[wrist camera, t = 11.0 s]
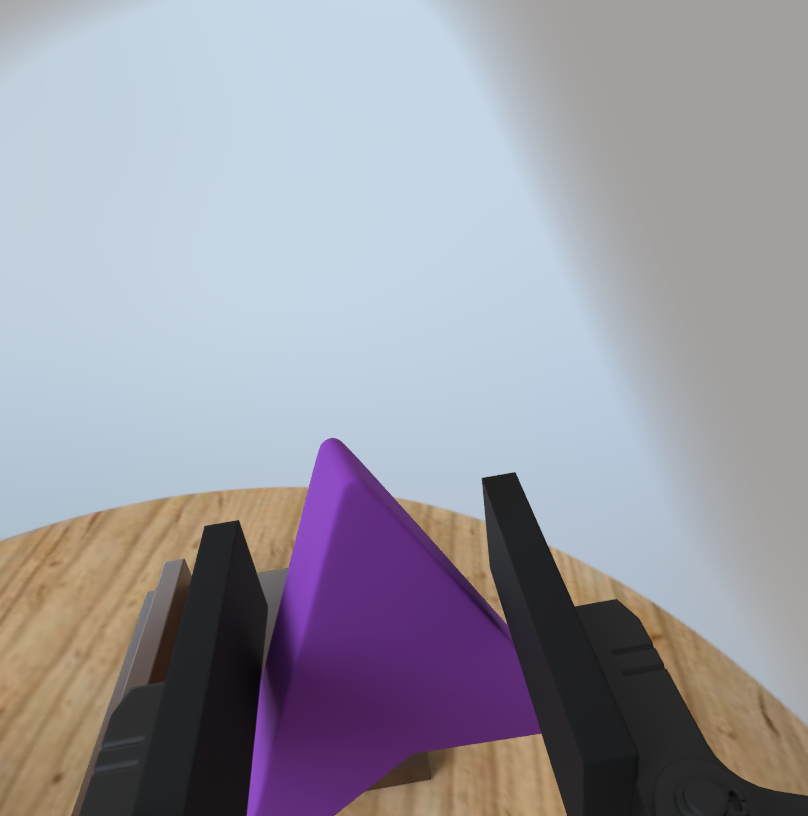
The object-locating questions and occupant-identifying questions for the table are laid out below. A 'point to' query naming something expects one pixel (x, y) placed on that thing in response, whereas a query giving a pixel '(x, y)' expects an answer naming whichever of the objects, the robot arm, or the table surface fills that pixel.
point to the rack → (156, 647)
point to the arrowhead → (373, 652)
